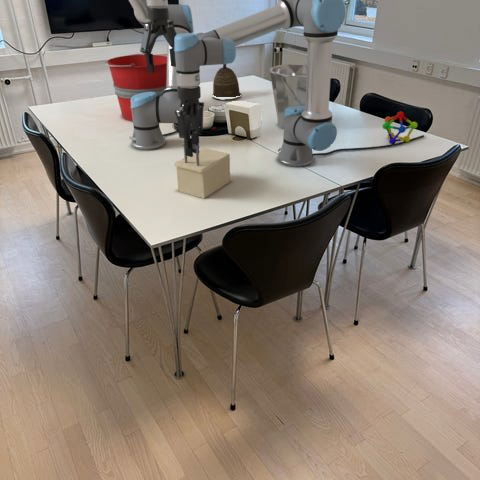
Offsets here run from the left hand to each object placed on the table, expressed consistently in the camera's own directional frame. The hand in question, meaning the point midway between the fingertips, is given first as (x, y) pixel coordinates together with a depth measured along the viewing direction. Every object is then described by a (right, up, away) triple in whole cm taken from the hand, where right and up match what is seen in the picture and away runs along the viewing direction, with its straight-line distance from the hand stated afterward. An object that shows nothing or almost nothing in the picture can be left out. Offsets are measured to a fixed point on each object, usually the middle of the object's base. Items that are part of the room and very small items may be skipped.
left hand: (162, 69), depth 170 cm
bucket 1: (-24, +4, +77) cm, 81 cm away
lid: (+16, -37, -7) cm, 41 cm away
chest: (+16, -45, -2) cm, 48 cm away
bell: (+21, +25, +111) cm, 116 cm away
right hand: (+13, -36, -14) cm, 40 cm away
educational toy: (+104, -20, +40) cm, 113 cm away
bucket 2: (+59, -5, +63) cm, 86 cm away
